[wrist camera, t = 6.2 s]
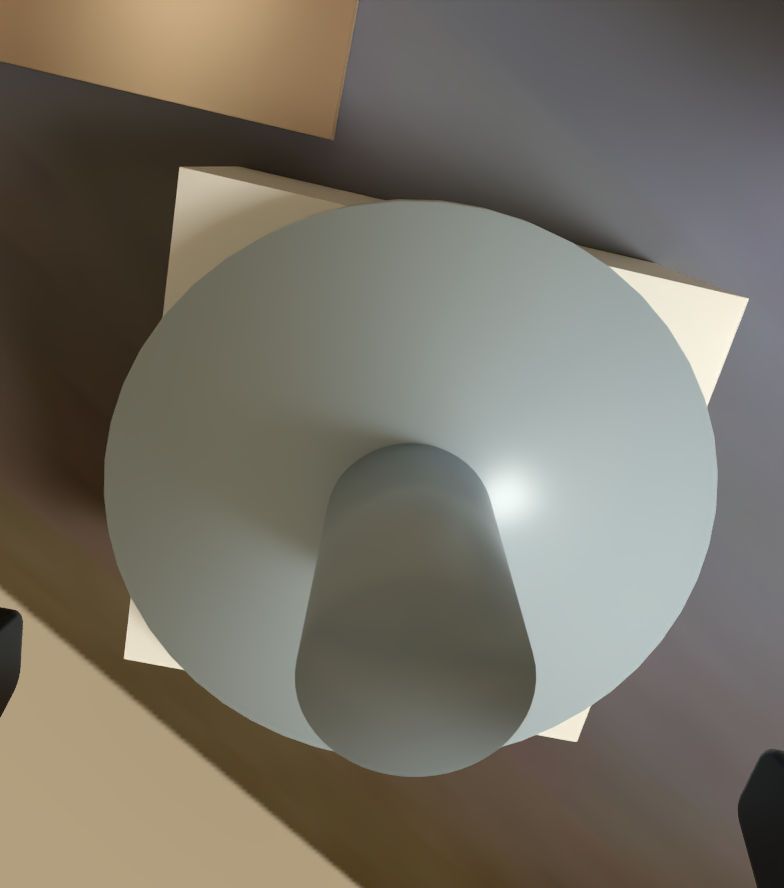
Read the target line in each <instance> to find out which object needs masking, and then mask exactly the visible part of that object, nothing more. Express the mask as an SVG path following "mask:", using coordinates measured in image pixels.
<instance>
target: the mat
mask: <svg viewBox="0 0 784 888" xmlns="http://www.w3.org/2000/svg"><path fill="white" fill-rule="evenodd" d="M358 2H359V0H0V62H4V63H8V64H13V65H17V66H21V67H25V68H30V69H34V70H38V71H42V72H46V73H51V74H55V75H59V76H63V77H67V78H72V79H76V80H80V81H84V82H89V83H93V84H97V85H101V86H105V87H110V88H114V89H118V90H122V91H126V92H131V93H135V94H139V95H143V96H148V97H152V98H156V99H160V100H164V101H169V102H173V103H177V104H181V105H185V106H190V107H194V108H198V109H202V110H207V111H211V112H215V113H219V114H223V115H228V116H232V117H236V118H240V119H244V120H249V121H253V122H257V123H261V124H265V125H270V126H274V127H278V128H282V129H287V130H291V131H295V132H299V133H303V134H308V135H312V136H316V137H320V138H324V139H329V140H333V141H334V136H335V131H336V125H337V119H338V114H339V108H340V103H341V97H342V92H343V86H344V80H345V75H346V69H347V64H348V58H349V53H350V47H351V41H352V36H353V30H354V25H355V19H356V14H357V8H358Z"/></svg>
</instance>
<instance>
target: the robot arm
mask: <svg viewBox="0 0 784 888" xmlns="http://www.w3.org/2000/svg"><path fill="white" fill-rule="evenodd" d="M22 630H23V620H22V616H21V615H20V613H19V612H18V611H16V610H12V609H6V608H1V607H0V717H1V715H2V713H3V712H4V710H5V708H6V706H7V703H8V702H9V700H10V698H11V696H12V694H13V692H14V690H15V688H16V685H17V682H18V678H19V674H20V666H21V665H20V664H21V647H22ZM738 817H739V822H740V826H741V830H742V833H743V837H744V841H745V844H746V848H747V851H748V855H749V859H750V862H751V866H752V870H753V873H754V877H755V880H756V884H757V888H784V751H781V750H776V749H770V750H766V751H765V752H764V753H762V754H761V756H760V757H759V759H758V761H757V763H756V765H755V767H754V769H753V771H752V773H751V775H750V777H749V779H748V781H747V783H746V786H745V788H744V790H743V792H742V794H741V796H740V798H739V803H738Z"/></svg>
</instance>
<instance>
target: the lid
mask: <svg viewBox="0 0 784 888" xmlns="http://www.w3.org/2000/svg"><path fill="white" fill-rule="evenodd" d="M717 477H718V471H717V461H716V451H715V441H714V434H713V430H712V426H711V422H710V418H709V414H708V410H707V406H706V402H705V398H704V396H703V393H702V391H701V389H700V386H699V384H698V381H697V379H696V377H695V374H694V372H693V370H692V367H691V365H690V362H689V361H688V359H687V357H686V356H685V354H684V352H683V351H682V349H681V348H680V346H679V344H678V343H677V341H676V339H675V338H674V336H673V334H672V333H671V331H670V329H669V328H668V327H667V325H666V324H665V323H664V322H663V321H662V319H661V318H660V317H659V316H658V315H657V313H656V312H655V311H654V310H653V309H652V307H651V306H650V305H649V304H648V303H647V301H646V300H645V299H644V298H643V297H642V295H640V294H639V293H638V292H637V291H636V290H635V289H634V288H633V287H631V286H630V285H629V284H628V283H627V282H626V281H625V280H624V279H623V278H621V277H620V276H619V275H618V274H617V273H616V272H615V271H614V270H612V269H611V268H610V267H609V266H607V265H606V264H604V263H603V262H601V261H600V260H598V259H597V258H595V257H594V256H592V255H591V254H589V253H588V252H586V251H585V250H583V249H582V248H580V247H579V246H577V245H575V244H574V243H572V242H570V241H568V240H566V239H564V238H562V237H559V236H557V235H555V234H553V233H551V232H549V231H547V230H545V229H542V228H540V227H538V226H536V225H534V224H532V223H529V222H527V221H525V220H522V219H519V218H516V217H513V216H510V215H506V214H503V213H500V212H497V211H493V210H490V209H487V208H484V207H479V206H473V205H467V204H461V203H455V202H448V201H442V200H413V199H394V200H385V201H376V202H368V203H359V204H353V205H349V206H345V207H341V208H337V209H333V210H329V211H325V212H321V213H318V214H314V215H311V216H309V217H306V218H304V219H301V220H299V221H297V222H294V223H292V224H289V225H287V226H284V227H282V228H280V229H277V230H275V231H273V232H271V233H269V234H267V235H265V236H264V237H262V238H260V239H258V240H257V241H255V242H253V243H252V244H250V245H248V246H247V247H245V248H243V249H241V250H240V251H238V252H236V253H235V254H233V255H231V256H229V257H228V258H226V259H225V260H224V261H222V262H221V263H220V264H219V265H217V266H216V267H215V268H214V269H212V270H211V271H210V272H209V273H207V274H206V275H205V276H204V277H202V278H201V279H200V280H199V281H197V282H196V283H195V284H194V285H192V286H191V288H190V289H189V290H188V291H187V292H186V293H185V294H184V295H183V296H182V297H181V298H180V299H179V300H178V301H177V302H176V303H175V305H174V306H173V307H172V308H171V309H170V310H169V311H168V312H167V313H166V314H165V315H164V316H163V318H162V319H161V321H160V322H159V324H158V325H157V326H156V328H155V329H154V331H153V332H152V334H151V335H150V336H149V338H148V339H147V341H146V342H145V344H144V345H143V346H142V348H141V349H140V351H139V353H138V355H137V357H136V359H135V361H134V363H133V365H132V367H131V369H130V371H129V373H128V375H127V377H126V379H125V381H124V384H123V386H122V389H121V392H120V395H119V398H118V401H117V404H116V407H115V410H114V414H113V417H112V420H111V424H110V430H109V436H108V442H107V448H106V454H105V465H104V501H105V509H106V517H107V525H108V532H109V536H110V540H111V543H112V547H113V551H114V554H115V558H116V562H117V566H118V568H119V570H120V573H121V575H122V578H123V580H124V582H125V585H126V587H127V589H128V592H129V594H130V596H131V599H132V600H133V602H134V604H135V606H136V607H137V609H138V611H139V612H140V614H141V616H142V617H143V619H144V621H145V622H146V624H147V626H148V628H149V629H150V630H151V632H152V633H153V634H154V636H155V637H156V638H157V639H158V641H159V642H160V643H161V645H162V646H163V647H164V648H165V650H166V651H167V652H168V654H169V655H170V656H171V657H172V658H173V659H174V660H175V661H176V662H177V663H178V664H179V665H180V666H181V667H182V668H183V669H184V670H185V671H186V672H187V673H188V674H189V675H190V676H191V677H192V678H193V679H194V680H195V681H196V682H197V683H198V684H200V685H201V686H202V687H203V688H205V689H206V690H207V691H208V692H210V693H211V694H212V695H214V696H215V697H216V698H217V699H219V700H220V701H221V702H222V703H224V704H226V705H227V706H229V707H230V708H232V709H234V710H235V711H237V712H239V713H240V714H242V715H243V716H245V717H247V718H248V719H250V720H251V721H253V722H256V723H258V724H260V725H262V726H264V727H266V728H268V729H270V730H272V731H274V732H277V733H279V734H281V735H283V736H286V737H289V738H291V739H294V740H297V741H300V742H303V743H306V744H309V745H311V746H314V747H318V748H322V749H326V750H331V751H335V752H336V753H337V754H339V755H341V756H342V757H344V758H345V759H347V760H349V761H351V762H353V763H355V764H357V765H359V766H361V767H364V768H367V769H370V770H373V771H376V772H380V773H385V774H389V775H396V776H406V777H422V776H434V775H440V774H445V773H450V772H453V771H457V770H460V769H463V768H466V767H468V766H470V765H473V764H475V763H477V762H479V761H481V760H483V759H484V758H486V757H488V756H490V755H491V754H492V753H494V752H495V751H496V750H498V749H499V748H501V747H502V746H506V745H509V744H512V743H516V742H519V741H522V740H525V739H527V738H529V737H532V736H534V735H537V734H539V733H541V732H544V731H546V730H548V729H551V728H553V727H555V726H557V725H559V724H561V723H562V722H564V721H566V720H568V719H570V718H571V717H573V716H575V715H577V714H579V713H580V712H582V711H584V710H585V709H587V708H588V707H590V706H591V705H593V704H594V703H595V702H597V701H598V700H600V699H601V698H602V697H604V696H605V695H607V694H608V693H609V692H611V691H612V690H613V689H615V688H616V687H617V686H618V685H619V684H620V683H621V682H622V681H623V680H625V679H626V678H627V677H628V676H629V675H630V674H631V673H632V672H633V671H635V670H636V669H637V668H638V667H639V666H640V665H641V664H642V662H643V661H644V660H645V659H646V658H647V657H648V656H649V654H650V653H651V652H652V651H653V650H654V649H655V648H656V646H657V645H658V644H659V643H660V642H661V641H662V639H663V638H664V636H665V635H666V633H667V632H668V630H669V629H670V627H671V626H672V624H673V623H674V622H675V620H676V619H677V617H678V616H679V614H680V613H681V611H682V609H683V607H684V605H685V603H686V601H687V599H688V597H689V595H690V593H691V591H692V589H693V587H694V585H695V583H696V581H697V579H698V576H699V573H700V570H701V567H702V565H703V562H704V559H705V556H706V553H707V550H708V547H709V543H710V538H711V533H712V528H713V522H714V517H715V512H716V498H717Z"/></svg>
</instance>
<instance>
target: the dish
mask: <svg viewBox="0 0 784 888" xmlns="http://www.w3.org/2000/svg"><path fill="white" fill-rule="evenodd" d="M376 201H385V200H382V199H377V198H373V197H369V196H364V195H360V194H356V193H352V192H347V191H343V190H339V189H334V188H330V187H326V186H321V185H317V184H313V183H309V182H304V181H300V180H296V179H291V178H287V177H283V176H278V175H274V174H270V173H266V172H261V171H257V170H253V169H248V168H244V167H240V166H226V167H180V168H179V177H178V186H177V194H176V203H175V212H174V221H173V230H172V239H171V247H170V256H169V265H168V274H167V283H166V292H165V300H164V309H163V316H164V315H165V314H166V313H167V312H168V311H169V310H170V309H171V308H172V307H173V306H174V305H175V303H176V302H177V301H178V300H179V299H180V298H181V297H182V296H183V295H184V294H185V293H186V292H187V291H188V290H189V289H190V288H191V286H192V285H194V284H195V283H196V282H197V281H199V280H200V279H201V278H202V277H204V276H205V275H206V274H207V273H209V272H210V271H211V270H212V269H214V268H215V267H216V266H217V265H219V264H220V263H221V262H222V261H224V260H225V259H226V258H228V257H229V256H231V255H233V254H235V253H236V252H238V251H240V250H241V249H243V248H245V247H247V246H248V245H250V244H252V243H253V242H255V241H257V240H258V239H260V238H262V237H264V236H265V235H267V234H269V233H271V232H273V231H275V230H277V229H280V228H282V227H284V226H287V225H289V224H292V223H294V222H297V221H299V220H301V219H304V218H306V217H309V216H311V215H314V214H318V213H321V212H325V211H329V210H333V209H337V208H341V207H345V206H349V205H353V204H359V203H368V202H376ZM577 246H579V245H577ZM579 247H580V248H582V249H583V250H585V251H586V252H588V253H589V254H591V255H592V256H594V257H595V258H597V259H598V260H600V261H601V262H603V263H604V264H606V265H607V266H609V267H610V268H611V269H612V270H614V271H615V272H616V273H617V274H618V275H619V276H620V277H621V278H623V279H624V280H625V281H626V282H627V283H628V284H629V285H630V286H631V287H633V288H634V289H635V290H636V291H637V292H638V293H639V294H640V295H642V297H643V298H644V299H645V300H646V301H647V303H648V304H649V305H650V306H651V307H652V309H653V310H654V311H655V312H656V313H657V315H658V316H659V317H660V318H661V319H662V321H663V322H664V323H665V324H666V325H667V327H668V328H669V329H670V331H671V333H672V334H673V336H674V338H675V339H676V341H677V343H678V344H679V346H680V348H681V349H682V351H683V352H684V354H685V356H686V357H687V359H688V361H689V362H690V365H691V367H692V370H693V372H694V374H695V377H696V379H697V381H698V384H699V386H700V389H701V391H702V393H703V396H704V398H705V402H706V406H707V405H708V403H709V400H710V398H711V395H712V393H713V390H714V387H715V385H716V382H717V380H718V377H719V375H720V372H721V369H722V367H723V364H724V362H725V359H726V357H727V354H728V351H729V349H730V346H731V344H732V341H733V339H734V336H735V333H736V331H737V328H738V326H739V323H740V320H741V318H742V315H743V313H744V310H745V308H746V305H747V302H748V300H749V298H746V297H744V296H741V295H738V294H736V293H733V292H730V291H728V290H725V289H722V288H720V287H717V286H714V285H712V284H709V283H707V282H704V281H701V280H699V279H696V278H693V277H691V276H688V275H685V274H683V273H680V272H677V271H675V270H672V269H669V268H667V267H664V266H662V265H659V264H656V263H652V262H648V261H644V260H639V259H635V258H631V257H626V256H622V255H618V254H614V253H609V252H605V251H601V250H596V249H592V248H588V247H583V246H579ZM124 659H127V660H133V661H138V662H144V663H149V664H155V665H160V666H166V667H171V668H176V669H182V670H184V669H183V668H182V667H181V666H180V665H179V664H178V663H177V662H176V661H175V660H174V659H173V658H172V657H171V656H170V655H169V654H168V652H167V651H166V650H165V648H164V647H163V646H162V645H161V643H160V642H159V641H158V639H157V638H156V637H155V636H154V634H153V633H152V632H151V630H150V629H149V628H148V626H147V624H146V622H145V621H144V619H143V617H142V616H141V614H140V612H139V611H138V609H137V607H136V606H135V604H134V602H133V600H132V599H131V601H130V609H129V618H128V627H127V636H126V645H125V654H124ZM590 707H591V706H590ZM590 707H588V708H587V709H585V710H584V711H582V712H580V713H579V714H577V715H575V716H573V717H571V718H570V719H568V720H566V721H564V722H562V723H561V724H559V725H557V726H555V727H553V728H551V729H548V730H546V731H544V732H541V733H539V734H537V735H541V736H546V737H552V738H557V739H562V740H568V741H573V742H577V740H578V738H579V735H580V733H581V730H582V727H583V725H584V722H585V720H586V717H587V715H588V712H589V709H590Z"/></svg>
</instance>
